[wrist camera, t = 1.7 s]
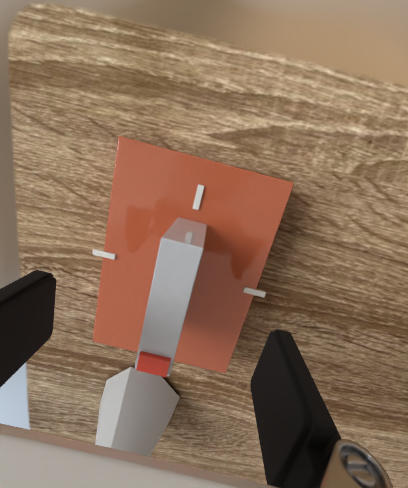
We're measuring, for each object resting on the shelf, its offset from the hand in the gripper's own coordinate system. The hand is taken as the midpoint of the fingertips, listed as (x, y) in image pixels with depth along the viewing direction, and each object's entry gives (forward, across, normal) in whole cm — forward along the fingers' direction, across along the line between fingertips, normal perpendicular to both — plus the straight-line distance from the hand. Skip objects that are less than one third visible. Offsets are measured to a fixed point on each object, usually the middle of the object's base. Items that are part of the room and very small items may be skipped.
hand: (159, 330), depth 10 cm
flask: (+9, +1, +15) cm, 17 cm away
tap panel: (+8, 0, 0) cm, 8 cm away
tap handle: (+5, 0, 0) cm, 5 cm away
